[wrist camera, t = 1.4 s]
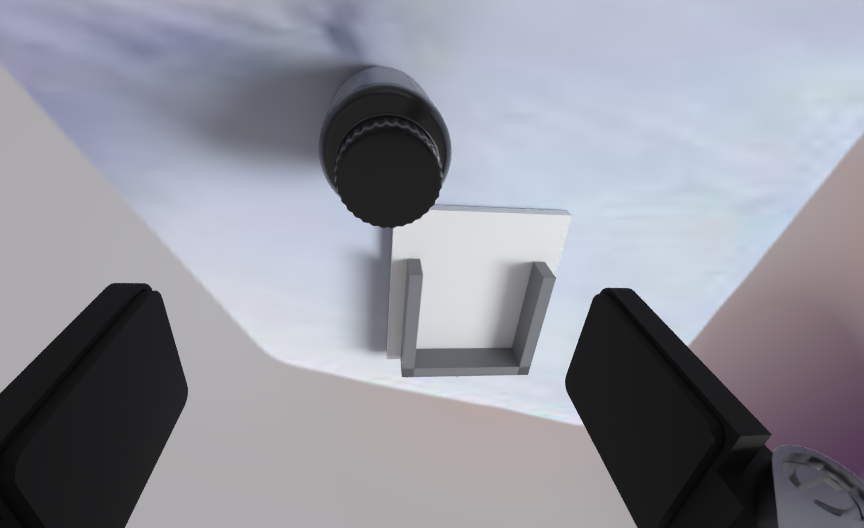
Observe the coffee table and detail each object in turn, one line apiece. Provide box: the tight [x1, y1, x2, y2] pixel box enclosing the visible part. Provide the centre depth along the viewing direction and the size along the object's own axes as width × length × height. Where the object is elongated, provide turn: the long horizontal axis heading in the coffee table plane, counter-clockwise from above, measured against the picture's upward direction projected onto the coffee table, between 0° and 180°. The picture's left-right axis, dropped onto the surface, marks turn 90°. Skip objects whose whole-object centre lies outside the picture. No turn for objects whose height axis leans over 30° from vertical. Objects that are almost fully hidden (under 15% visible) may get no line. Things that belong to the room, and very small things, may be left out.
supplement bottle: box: [319, 67, 451, 228], centre depth 23 cm, size 7×7×12 cm
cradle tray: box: [387, 205, 572, 377], centre depth 35 cm, size 15×14×4 cm
